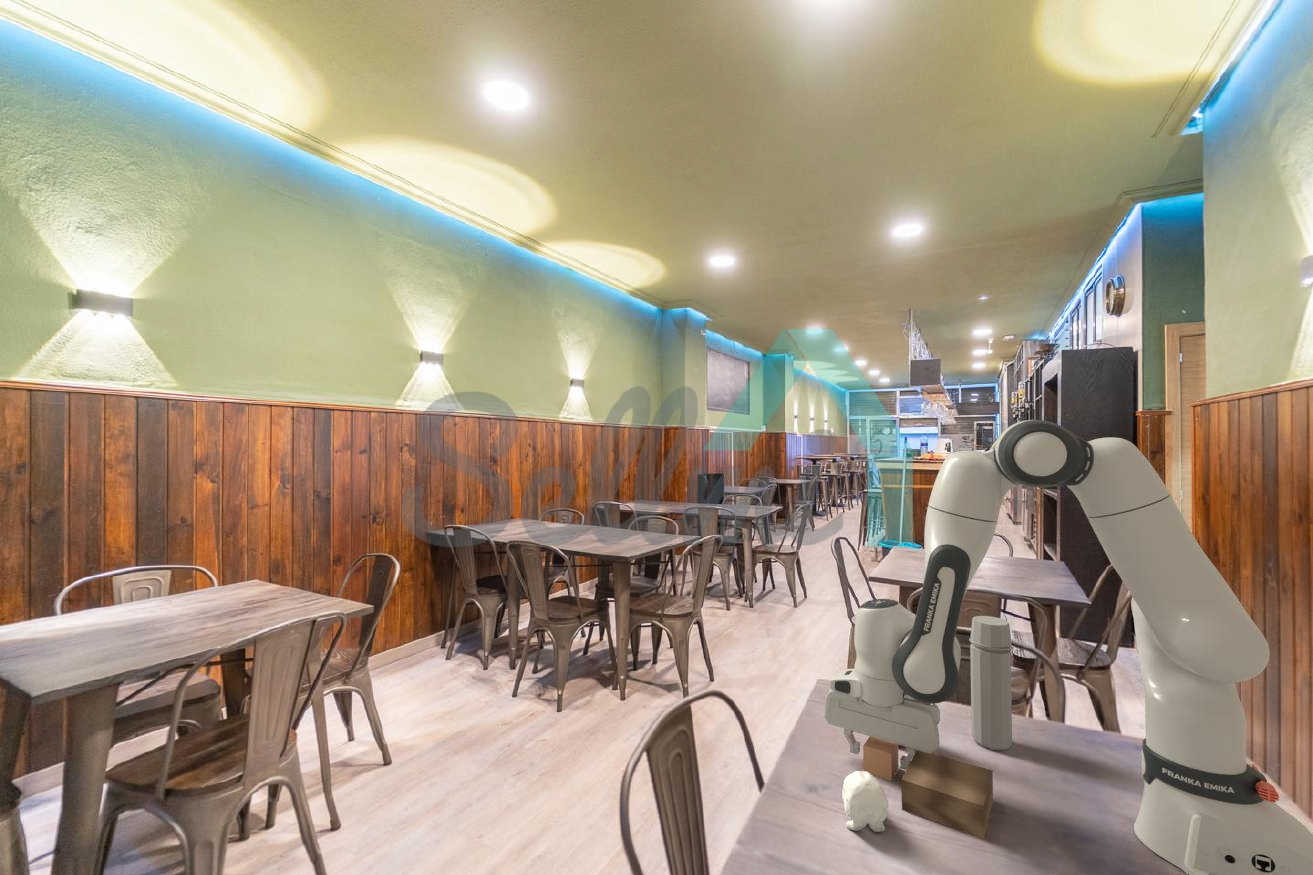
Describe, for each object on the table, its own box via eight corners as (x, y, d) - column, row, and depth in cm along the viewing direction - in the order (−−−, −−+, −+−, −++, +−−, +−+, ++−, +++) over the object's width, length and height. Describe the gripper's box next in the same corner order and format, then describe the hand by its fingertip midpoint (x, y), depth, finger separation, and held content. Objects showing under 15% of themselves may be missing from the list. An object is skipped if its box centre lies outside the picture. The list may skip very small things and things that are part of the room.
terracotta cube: (898, 768, 107) (898, 742, 107) (891, 781, 103) (891, 753, 103) (871, 760, 110) (871, 734, 110) (863, 772, 106) (863, 745, 106)
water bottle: (1001, 757, 111) (998, 628, 111) (962, 739, 118) (960, 618, 118) (1027, 744, 115) (1024, 621, 116) (988, 728, 122) (986, 611, 122)
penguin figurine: (847, 781, 88) (832, 748, 100) (849, 840, 87) (834, 799, 99) (889, 784, 88) (869, 750, 99) (892, 843, 87) (871, 802, 98)
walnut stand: (993, 799, 98) (992, 770, 98) (984, 838, 88) (983, 806, 88) (917, 775, 105) (917, 748, 105) (901, 809, 95) (901, 779, 95)
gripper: (943, 694, 103) (943, 771, 103) (832, 668, 115) (832, 736, 115) (936, 707, 98) (937, 787, 98) (821, 678, 110) (821, 750, 110)
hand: (879, 760), depth 107 cm, fingers open, 8 cm apart
